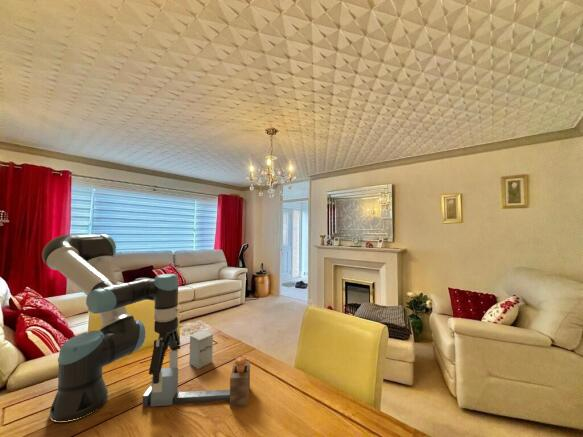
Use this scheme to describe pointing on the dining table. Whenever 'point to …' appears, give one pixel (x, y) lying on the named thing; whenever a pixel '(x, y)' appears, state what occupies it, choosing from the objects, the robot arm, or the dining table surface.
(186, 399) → the rail
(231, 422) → the dining table surface
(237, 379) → the end block
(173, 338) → the robot arm
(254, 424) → the dining table surface
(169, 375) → the block
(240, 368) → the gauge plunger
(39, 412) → the dining table surface
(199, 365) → the supplement box
